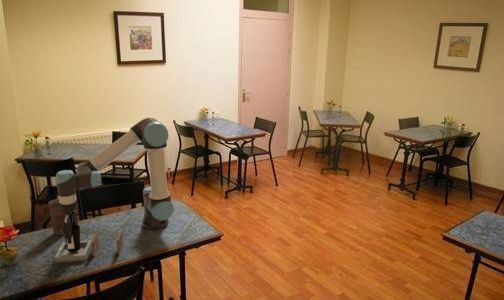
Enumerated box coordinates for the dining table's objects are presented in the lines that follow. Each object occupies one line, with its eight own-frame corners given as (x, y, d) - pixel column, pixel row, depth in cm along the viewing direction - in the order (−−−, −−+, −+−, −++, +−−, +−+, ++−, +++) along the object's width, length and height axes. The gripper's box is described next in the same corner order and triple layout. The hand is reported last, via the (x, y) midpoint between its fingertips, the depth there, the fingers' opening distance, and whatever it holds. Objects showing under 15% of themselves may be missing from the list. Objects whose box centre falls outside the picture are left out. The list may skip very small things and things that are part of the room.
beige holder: (122, 244, 198) (121, 230, 195) (120, 254, 188) (118, 240, 186) (97, 246, 195) (95, 232, 193) (92, 256, 186) (91, 242, 184)
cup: (75, 254, 183) (73, 232, 179) (62, 252, 184) (59, 230, 181) (85, 246, 190) (83, 225, 187) (72, 244, 192) (69, 223, 188)
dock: (92, 245, 196) (91, 239, 195) (86, 260, 183) (85, 254, 182) (63, 247, 193) (62, 241, 192) (55, 262, 180) (54, 256, 179)
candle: (55, 237, 202) (50, 204, 196) (51, 232, 207) (46, 199, 202) (70, 233, 207) (65, 200, 201) (66, 228, 212) (61, 196, 207)
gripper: (65, 194, 189) (71, 234, 195) (52, 211, 170) (59, 255, 176) (81, 193, 190) (86, 233, 197) (70, 210, 171) (76, 254, 177)
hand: (73, 243), depth 186 cm, fingers closed on cup, 8 cm apart
